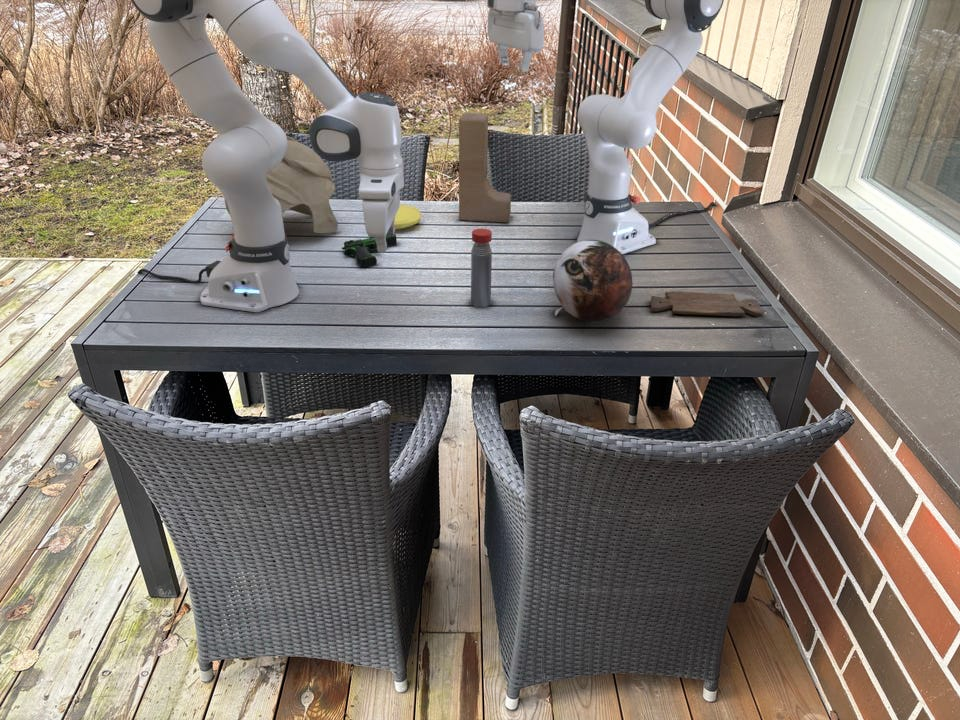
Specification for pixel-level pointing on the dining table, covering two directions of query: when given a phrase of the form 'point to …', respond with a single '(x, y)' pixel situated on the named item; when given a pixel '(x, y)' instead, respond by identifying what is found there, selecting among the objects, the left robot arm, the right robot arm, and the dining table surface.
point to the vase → (406, 217)
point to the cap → (481, 235)
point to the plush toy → (592, 281)
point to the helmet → (304, 186)
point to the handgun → (365, 249)
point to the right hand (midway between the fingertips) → (513, 68)
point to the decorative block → (478, 174)
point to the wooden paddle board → (705, 304)
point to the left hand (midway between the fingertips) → (386, 242)
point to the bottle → (481, 275)
